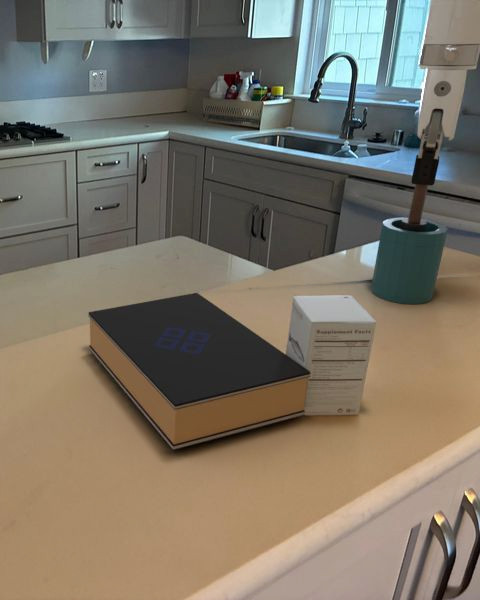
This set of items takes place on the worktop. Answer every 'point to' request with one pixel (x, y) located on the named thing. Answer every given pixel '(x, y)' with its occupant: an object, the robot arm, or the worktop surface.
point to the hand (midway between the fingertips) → (422, 181)
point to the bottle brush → (416, 211)
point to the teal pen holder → (408, 262)
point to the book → (196, 369)
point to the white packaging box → (331, 351)
